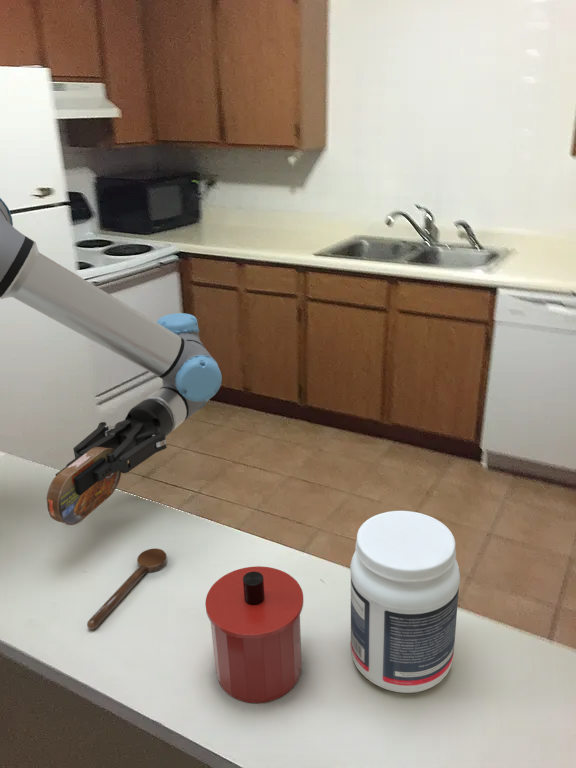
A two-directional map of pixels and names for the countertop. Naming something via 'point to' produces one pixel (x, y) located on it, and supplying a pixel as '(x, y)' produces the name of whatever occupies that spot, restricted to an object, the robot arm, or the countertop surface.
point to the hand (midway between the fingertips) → (68, 484)
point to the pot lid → (254, 602)
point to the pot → (258, 664)
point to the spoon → (130, 582)
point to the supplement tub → (404, 601)
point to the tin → (63, 493)
